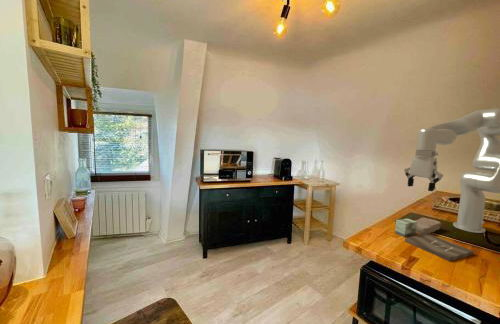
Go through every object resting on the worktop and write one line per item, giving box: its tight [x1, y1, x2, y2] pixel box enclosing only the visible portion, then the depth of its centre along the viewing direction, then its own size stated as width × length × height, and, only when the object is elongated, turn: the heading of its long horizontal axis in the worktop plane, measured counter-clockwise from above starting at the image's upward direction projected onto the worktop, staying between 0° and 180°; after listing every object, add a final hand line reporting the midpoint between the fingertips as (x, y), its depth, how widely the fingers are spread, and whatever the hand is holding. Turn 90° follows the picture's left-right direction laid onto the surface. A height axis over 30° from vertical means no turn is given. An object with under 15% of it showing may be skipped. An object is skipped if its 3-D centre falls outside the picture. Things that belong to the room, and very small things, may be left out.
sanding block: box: [394, 218, 417, 238], centre depth 114 cm, size 8×5×7 cm, turn 110°
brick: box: [414, 217, 442, 235], centre depth 119 cm, size 17×8×5 cm, turn 118°
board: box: [404, 233, 474, 262], centre depth 100 cm, size 16×18×2 cm
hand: (420, 188), depth 111 cm, fingers open, 9 cm apart
